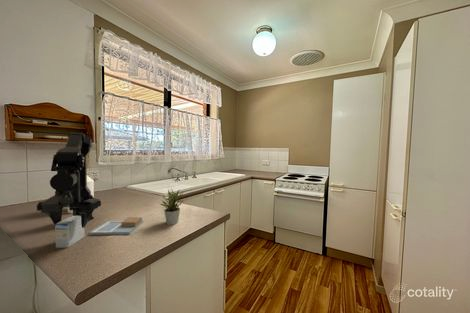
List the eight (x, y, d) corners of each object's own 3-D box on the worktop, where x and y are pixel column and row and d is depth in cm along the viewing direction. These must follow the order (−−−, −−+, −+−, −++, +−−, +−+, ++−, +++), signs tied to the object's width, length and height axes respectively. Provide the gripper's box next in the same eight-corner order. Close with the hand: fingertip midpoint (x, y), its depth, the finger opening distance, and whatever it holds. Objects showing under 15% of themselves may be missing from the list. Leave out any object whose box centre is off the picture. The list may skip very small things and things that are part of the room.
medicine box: (73, 237, 73) (72, 215, 72) (85, 237, 73) (84, 215, 73) (55, 248, 65) (54, 223, 64) (69, 247, 65) (68, 223, 65)
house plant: (196, 220, 91) (196, 187, 90) (175, 231, 78) (175, 193, 78) (175, 215, 97) (175, 184, 97) (152, 224, 85) (152, 189, 84)
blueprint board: (88, 235, 74) (87, 227, 74) (108, 222, 87) (108, 216, 87) (128, 234, 75) (128, 227, 75) (143, 222, 87) (142, 216, 87)
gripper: (18, 190, 60) (20, 238, 60) (78, 190, 60) (79, 237, 61) (51, 183, 71) (52, 224, 71) (101, 183, 71) (102, 223, 72)
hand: (70, 227), depth 69 cm, fingers open, 9 cm apart
